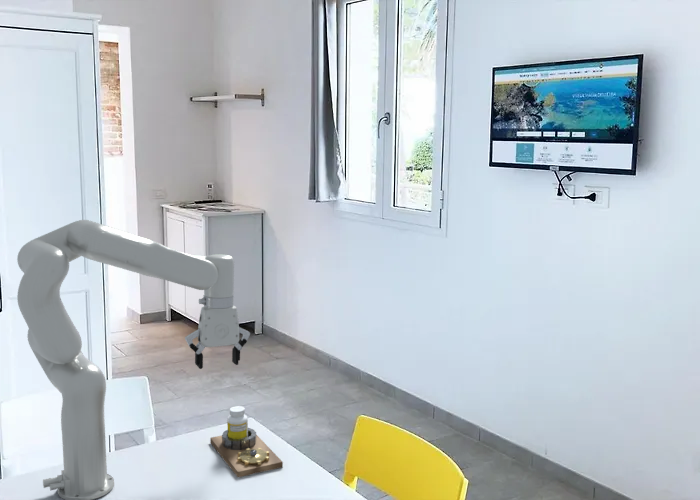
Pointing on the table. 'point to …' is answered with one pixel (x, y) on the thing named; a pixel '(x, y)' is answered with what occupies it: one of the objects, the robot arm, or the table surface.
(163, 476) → the table surface
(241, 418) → the supplement bottle
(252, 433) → the socket ring
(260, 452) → the brass gear
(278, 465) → the gear board
